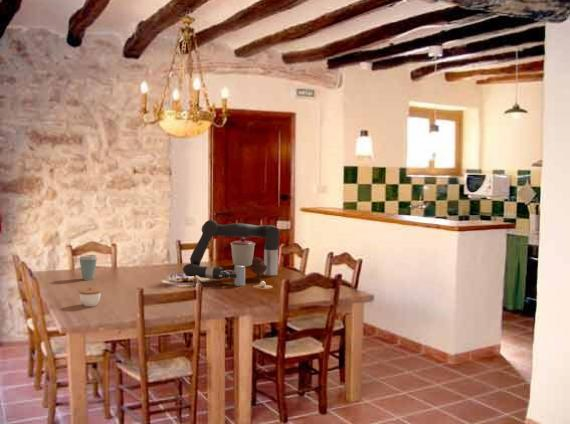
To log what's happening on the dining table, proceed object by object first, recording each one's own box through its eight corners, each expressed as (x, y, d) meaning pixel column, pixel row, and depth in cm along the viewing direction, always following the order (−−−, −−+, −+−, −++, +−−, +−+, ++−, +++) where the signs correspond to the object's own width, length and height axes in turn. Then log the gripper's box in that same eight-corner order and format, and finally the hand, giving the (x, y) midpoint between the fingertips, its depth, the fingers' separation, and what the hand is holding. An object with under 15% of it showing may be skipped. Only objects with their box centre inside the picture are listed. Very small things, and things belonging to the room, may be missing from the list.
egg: (261, 285, 365) (261, 280, 365) (266, 286, 364) (266, 280, 364) (259, 287, 362) (259, 281, 362) (264, 287, 361) (264, 281, 361)
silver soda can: (236, 284, 371) (237, 265, 370) (246, 285, 370) (246, 265, 369) (232, 286, 366) (233, 266, 364) (242, 287, 364) (242, 267, 363)
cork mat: (256, 284, 371) (256, 284, 371) (275, 286, 367) (275, 285, 367) (250, 288, 359) (250, 287, 359) (269, 290, 356) (269, 289, 356)
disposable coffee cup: (78, 280, 370) (78, 256, 369) (80, 277, 381) (80, 254, 379) (96, 280, 372) (96, 256, 371) (97, 277, 383) (97, 253, 382)
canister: (260, 266, 437) (260, 237, 435) (241, 269, 423) (242, 239, 422) (243, 263, 449) (243, 235, 447) (224, 265, 436) (225, 236, 434)
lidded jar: (82, 302, 315) (82, 285, 314) (103, 302, 316) (103, 285, 315) (76, 307, 305) (76, 289, 304) (98, 307, 305) (98, 289, 305)
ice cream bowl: (264, 282, 379) (265, 258, 378) (247, 281, 381) (248, 257, 380) (268, 279, 389) (269, 256, 388) (251, 278, 391) (252, 255, 390)
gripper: (209, 268, 365) (234, 270, 360) (219, 265, 378) (243, 267, 374) (209, 281, 365) (234, 283, 361) (218, 276, 379) (243, 278, 374)
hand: (238, 274), depth 367 cm, fingers open, 8 cm apart
